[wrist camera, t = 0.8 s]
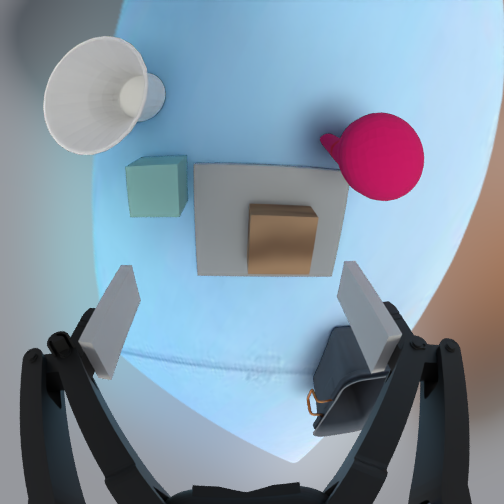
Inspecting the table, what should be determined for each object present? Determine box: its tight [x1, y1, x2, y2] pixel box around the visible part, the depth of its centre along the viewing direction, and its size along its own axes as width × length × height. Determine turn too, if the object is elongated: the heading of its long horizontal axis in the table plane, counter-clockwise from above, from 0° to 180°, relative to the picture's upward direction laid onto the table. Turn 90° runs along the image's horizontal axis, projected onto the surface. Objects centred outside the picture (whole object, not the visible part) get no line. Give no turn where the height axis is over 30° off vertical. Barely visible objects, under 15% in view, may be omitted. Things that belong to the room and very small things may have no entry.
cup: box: [43, 36, 165, 155], centre depth 23 cm, size 10×10×14 cm
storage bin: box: [307, 327, 390, 437], centre depth 46 cm, size 21×16×14 cm
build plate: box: [194, 163, 349, 277], centre depth 37 cm, size 16×20×1 cm
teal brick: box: [125, 155, 188, 217], centre depth 31 cm, size 6×6×6 cm
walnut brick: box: [247, 204, 319, 275], centre depth 36 cm, size 8×8×4 cm
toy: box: [320, 113, 424, 201], centre depth 26 cm, size 8×8×15 cm
